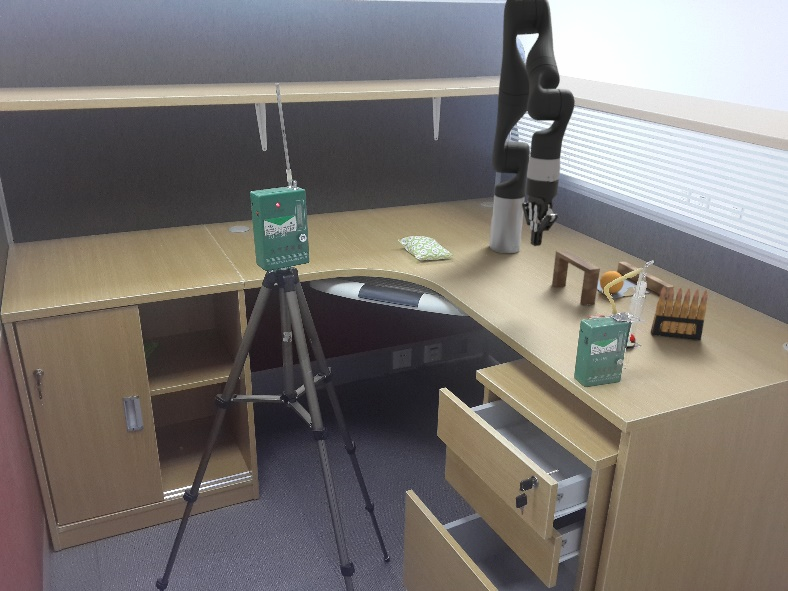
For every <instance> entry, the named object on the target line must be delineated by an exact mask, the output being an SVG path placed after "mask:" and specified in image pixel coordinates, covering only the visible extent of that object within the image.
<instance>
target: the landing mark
mask: <svg viewBox="0 0 788 591" xmlns="http://www.w3.org/2000/svg"><path fill="white" fill-rule="evenodd" d="M636 286H637V285H636V284H635V283H633V282H630V281H629V280H627V279H625V281H624V284H623V287H622V289H621V290H620V291H619V292H617V293H614V294H612V295H611V294H610V295H611V296H612V297H613V299H618V298H619V297H621V298H623V297H622V296H624V294H623V293H624V292H626V291H627V290H628V289H627V288H629V287H633V289H634V290H635V288H634V287H636ZM598 290H599V291H598ZM602 290H603V289H602V288H601V286H600V279H598V286H597V291H598V292H600V291H601V292H602ZM601 292H600V293H601ZM603 293H604V290H603ZM603 293H602V294H603ZM647 294H650V292H649V291H648V290H646V294H645V295H647ZM613 299H612V300H613ZM619 299H620V298H619Z"/></svg>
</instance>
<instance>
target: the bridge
mask: <svg viewBox="0 0 788 591" xmlns="http://www.w3.org/2000/svg"><path fill="white" fill-rule="evenodd" d="M569 264H570V265H572V266H574V267H576V268H578V269H579V270H580V271H583V272H584V273H583V280H582V281H583V282H582V287H581V293H580V294H581V295H580V303H581V305H583V304H584V305H583V306H590V305H589V304H592V305H595V304H596V298H597V292H598V290H597V286H598V280H600V278H599V277H600V271H601V268H600V267H598V266H597V265H594V264H593V263H591V262H589V261H587V260H585V259H583V258H582V257H580V256H579V255H576V254H574V253H572V252H570V251H569V250H567V249H561V250H560V249H559V250H556V251H555V256H554V264H553V271H552V272H553V273H552V280H551V281H552V282H551V286H553V285H554V286H553V287H555V288H560V287H559V286H561V287H566V284H567V276H568V269H569Z"/></svg>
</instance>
